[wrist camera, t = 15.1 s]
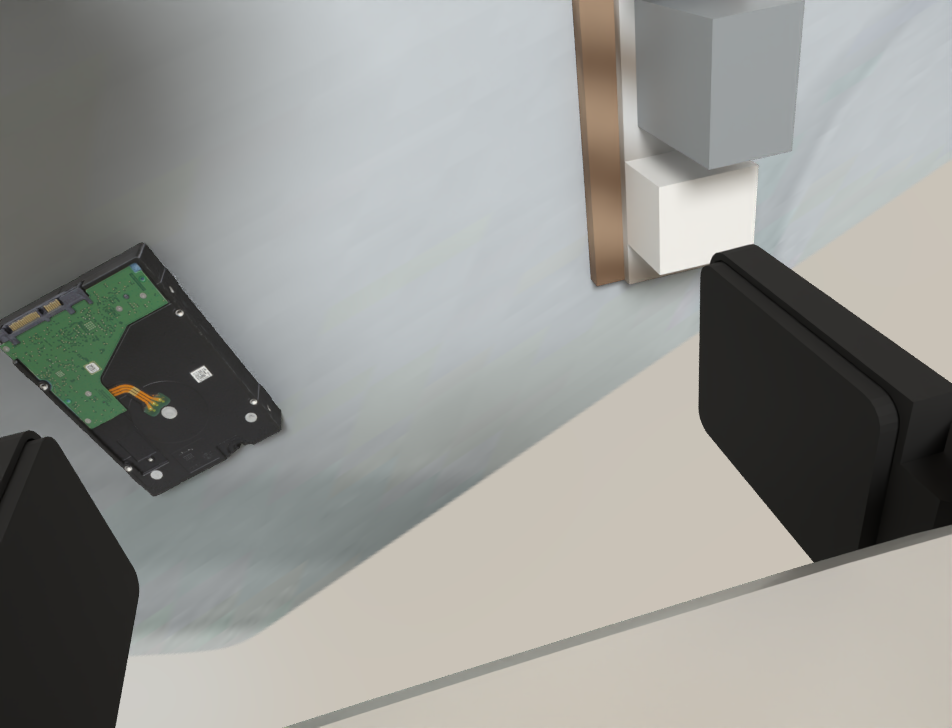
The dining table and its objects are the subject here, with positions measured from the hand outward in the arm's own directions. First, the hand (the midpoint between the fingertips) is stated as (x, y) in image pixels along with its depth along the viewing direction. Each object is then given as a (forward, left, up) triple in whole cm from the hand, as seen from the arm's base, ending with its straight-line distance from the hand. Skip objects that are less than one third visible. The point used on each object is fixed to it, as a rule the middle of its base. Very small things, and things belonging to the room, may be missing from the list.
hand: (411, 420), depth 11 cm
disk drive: (+17, -15, -37) cm, 43 cm away
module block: (+4, +20, -34) cm, 39 cm away
